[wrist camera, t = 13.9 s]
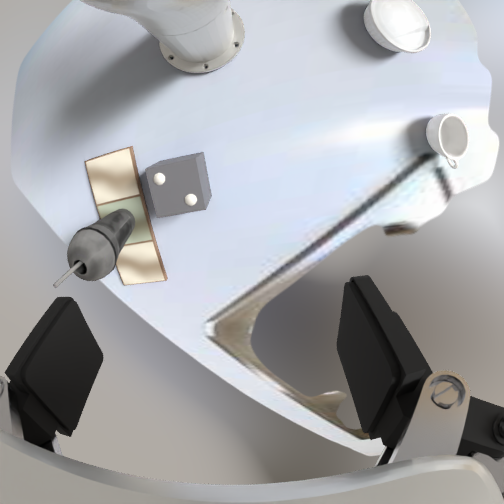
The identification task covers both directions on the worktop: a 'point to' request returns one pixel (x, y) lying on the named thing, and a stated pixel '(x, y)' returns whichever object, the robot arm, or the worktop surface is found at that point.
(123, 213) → the beverage cup
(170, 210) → the die
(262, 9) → the worktop surface
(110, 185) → the game track
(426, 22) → the ramekin
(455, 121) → the teacup
